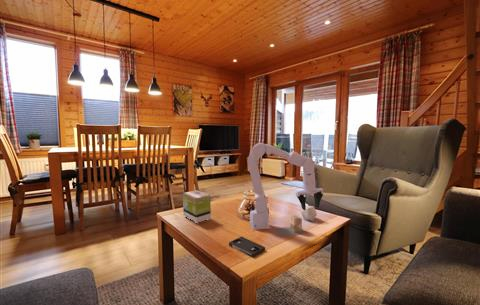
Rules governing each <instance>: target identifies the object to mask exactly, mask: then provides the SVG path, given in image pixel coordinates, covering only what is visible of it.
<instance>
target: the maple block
mask: <svg viewBox="0 0 480 305" xmlns="http://www.w3.org/2000/svg"><path fill="white" fill-rule="evenodd" d="M289 227H290V229H291V230H292V231H293V232H294V233H295V232H301V231H302V229H303V217H301V216H299V215H295V214H294V215H290V226H289Z"/></svg>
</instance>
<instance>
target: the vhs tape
mask: <svg viewBox="0 0 480 305" xmlns="http://www.w3.org/2000/svg"><path fill="white" fill-rule="evenodd" d="M230 246H231V248H232V249H235V250H237V251H239V252H241V253H243V254H244V255H247V256H248V257H250V258H255V257H257V256H259V255H260V254H262V253H263V252H265V251H266V247H265V246H263V245H261V244H259V243H256V242H254V241H252V240H250V239H248V238H246V237H243V236H239V237H237V238H235V239H233V240H231V241H229V242H228V247H230Z"/></svg>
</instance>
